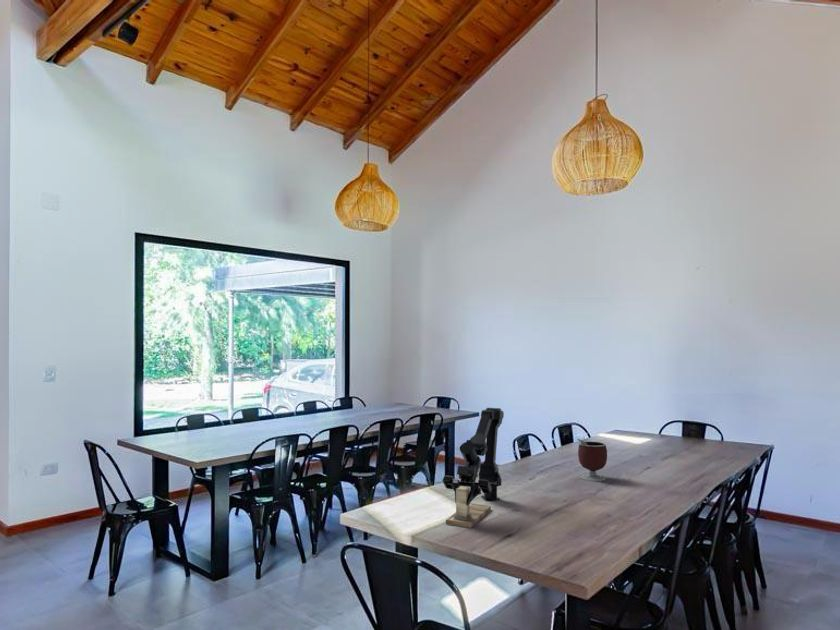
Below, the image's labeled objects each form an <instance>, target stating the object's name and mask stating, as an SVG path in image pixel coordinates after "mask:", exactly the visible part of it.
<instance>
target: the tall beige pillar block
mask: <svg viewBox="0 0 840 630" xmlns="http://www.w3.org/2000/svg"><path fill="white" fill-rule="evenodd" d="M469 492H470V487H466V486H460V487H459V488H457V489H456V503H455V512H456V515H454V519H461V520H468V519H469V518H470V517H471V513H470V504H469V505H466V502H467V498H468V495H469Z"/></svg>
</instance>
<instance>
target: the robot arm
mask: <svg viewBox="0 0 840 630" xmlns="http://www.w3.org/2000/svg"><path fill="white" fill-rule="evenodd" d="M503 419H504V411H503V410H502V409H501V407H499V408H497V407H486V408H485V409H482V410H481V412H480V419H479V422H478V425H477V428H476V432H475V434H474V435H473V436H472V437H470V439H466V441H465V442H462V443H461V445H459V452H460V453H461V456H462V458H463V460H464V461H465V464H464V465H458V466H457V468H456V469H457V471H456V474H457V475H458V478H459V479H457V478H455V476H454V475H444V476H443V477H442V483H443V484H444V487H445V489H447V490H453V491H454V501H455V502H454V503H455V504H456V489H457V488H459V487H467V488H469V489H470V492H469V495H468V498H467V502H466V505H469V504H470V503H472V501H473V500H475V498H476V497H478V496H479V495H480V497H481V498H482V499H483V500H485V501H487V502H489V501H490V502H491V501H500V500H501V498H500V497H498V487H501V486H502V482H503V480H502V477H501V475H500V472H499V467H498V464H497V463H496V458H497V442H498V432H499V431H498V429H499V428H500V426H501V425H502V424H503ZM483 456H484V460H483V462H482V459H481V457H483ZM477 478H478V480H477ZM477 481H478V482H477ZM482 493H483V495H482Z"/></svg>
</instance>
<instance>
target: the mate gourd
mask: <svg viewBox="0 0 840 630" xmlns="http://www.w3.org/2000/svg"><path fill="white" fill-rule="evenodd" d="M576 440H577V441H579V443H578V449H577V454H578V461H579V464H580V465H581V467H582V468H584V469H586V470H588V471H589V473H584V474H583V473H582V474H580V477H581V478H582V479H581V478H580V477H579V478H580V479H581V480H583V479H585V481H588V480H591V481H590V482H603V481H602V480H604V481H606V480H605V479H607V478H606V476H604V475H601V474H597V471H599V470H602V469H604V467H605V466H606V465H607V460H608V449H607V448H608V447H607V444H606V443H604V442H603V441H602V442H601V441H592V440H591V441H587V440H586V441H584V440H583V439H580V438H577V439H576Z"/></svg>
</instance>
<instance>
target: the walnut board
mask: <svg viewBox="0 0 840 630" xmlns="http://www.w3.org/2000/svg"><path fill="white" fill-rule="evenodd" d="M491 509H492V505H487V504H486V505H485V504H477V503H472V502H470V513H471V517H470V518H469V519H468V520H461V519H454V515H456V511H455V512H454V513H453V514H452V515H450V516H449V517H447V518H446V519H445V524H446V525H449V526H456V527H457V526H458V527H464V528H473V527H474V525H476V524H477V523H478V522H479V521H481V519H482V518H483V517H485V515H487V514H488V513H489V512H490V511H491Z"/></svg>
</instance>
